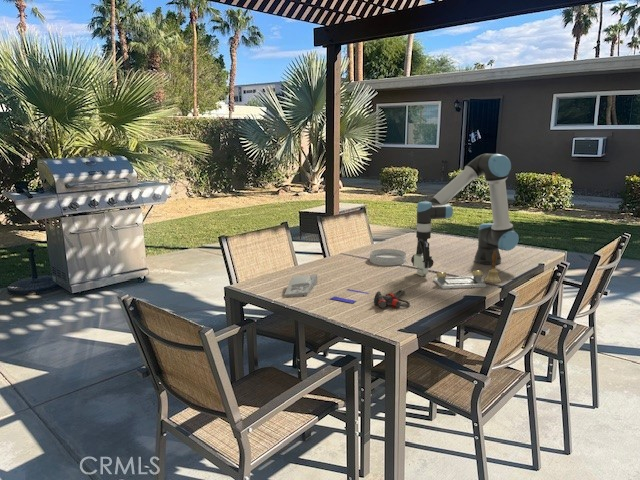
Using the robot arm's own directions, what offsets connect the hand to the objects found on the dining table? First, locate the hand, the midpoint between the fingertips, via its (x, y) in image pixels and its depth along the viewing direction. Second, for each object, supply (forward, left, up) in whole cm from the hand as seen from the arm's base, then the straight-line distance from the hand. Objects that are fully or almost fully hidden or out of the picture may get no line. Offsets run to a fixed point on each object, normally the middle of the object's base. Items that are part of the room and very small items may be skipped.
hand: (422, 270), depth 261 cm
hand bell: (-33, +15, -3) cm, 36 cm away
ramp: (+67, +16, -3) cm, 69 cm away
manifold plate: (-14, +18, -2) cm, 23 cm away
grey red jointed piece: (+24, +41, -3) cm, 47 cm away
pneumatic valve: (0, 0, -3) cm, 3 cm away
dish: (+12, -33, -3) cm, 35 cm away
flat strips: (+42, +27, -3) cm, 50 cm away
